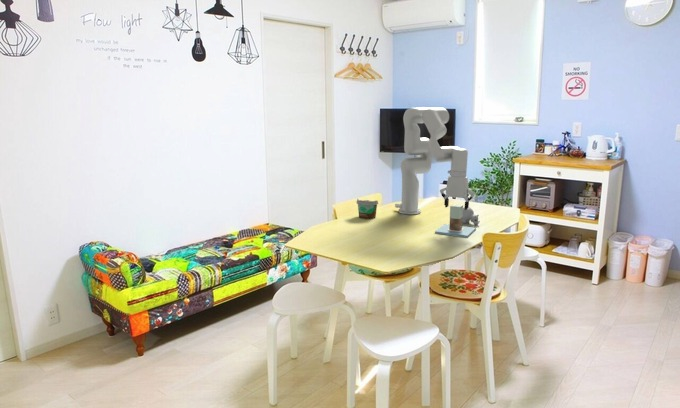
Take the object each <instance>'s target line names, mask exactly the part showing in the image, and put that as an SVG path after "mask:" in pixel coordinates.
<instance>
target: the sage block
mask: <svg viewBox="0 0 680 408" xmlns="http://www.w3.org/2000/svg"><path fill="white" fill-rule="evenodd" d="M463 208H464V205H463V204H455V203H453V204H451V205H450V206H449V219H450V218H454V219H461V218H462V217H463Z"/></svg>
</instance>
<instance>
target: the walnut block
mask: <svg viewBox="0 0 680 408" xmlns="http://www.w3.org/2000/svg"><path fill="white" fill-rule="evenodd" d="M462 221H463V217H462V218H461V219H454V218H450V217H449V225H450V226H449V230H455V231H460V230H461V229H462V226H463V223H462Z"/></svg>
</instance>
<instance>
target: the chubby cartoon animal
mask: <svg viewBox="0 0 680 408" xmlns="http://www.w3.org/2000/svg"><path fill="white" fill-rule="evenodd" d="M464 208H465V206H463V221H462V225H465V224H469V223H470V222H471V223H473V225H475V226H478V225H479V224H480V222H481V221H480V220H479V214H477V215H476V214H474V210H473V209H472V208H471V207H468V208H467V210H464Z"/></svg>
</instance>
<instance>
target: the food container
mask: <svg viewBox="0 0 680 408" xmlns="http://www.w3.org/2000/svg"><path fill="white" fill-rule="evenodd" d="M356 204H357V208H358V209H357V210H358V218H359V219H362V220H373V219H376V216H377V215H376V214H377V208H378V205H379V201H378V200H367V199H366V200H365V199H364V200H359V198H357V199H356Z"/></svg>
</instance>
